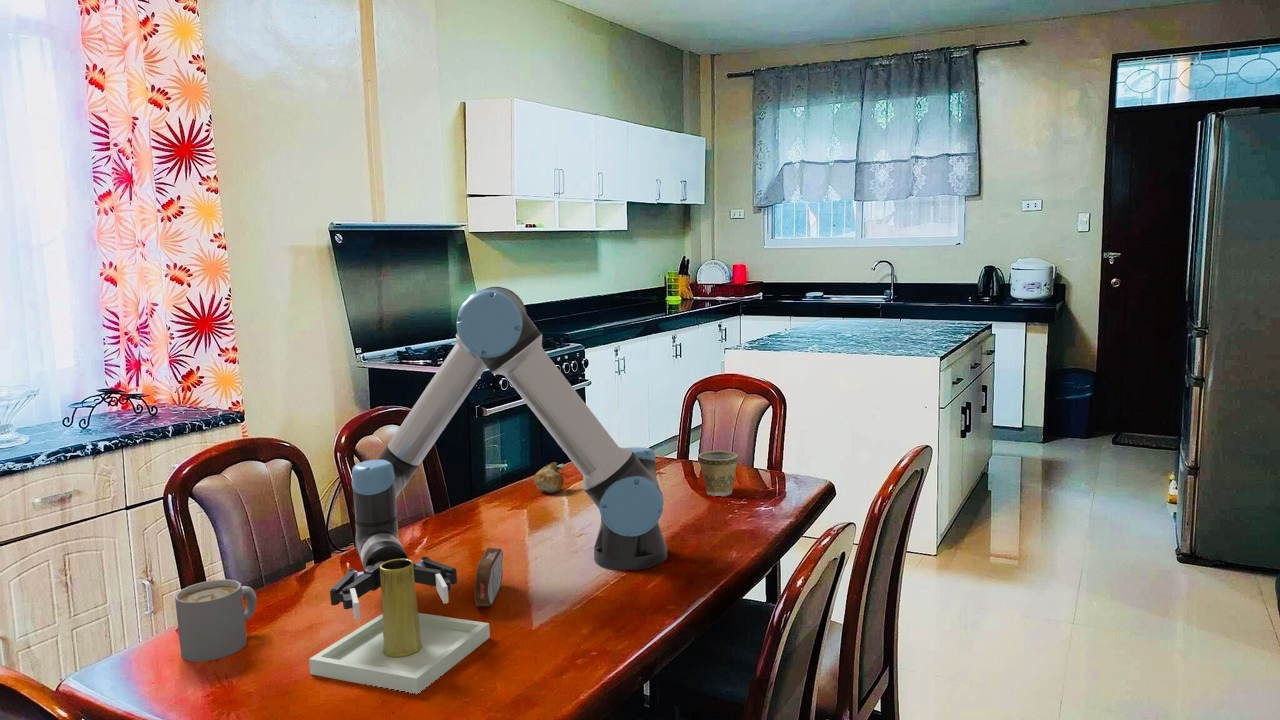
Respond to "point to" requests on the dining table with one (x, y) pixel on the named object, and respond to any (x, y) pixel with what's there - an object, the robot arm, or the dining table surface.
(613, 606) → the dining table surface
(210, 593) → the coffee mug
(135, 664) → the dining table surface
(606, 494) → the robot arm
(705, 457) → the ceramic cup
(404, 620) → the vase
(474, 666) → the dining table surface
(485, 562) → the tin
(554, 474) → the onion
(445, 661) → the tray
